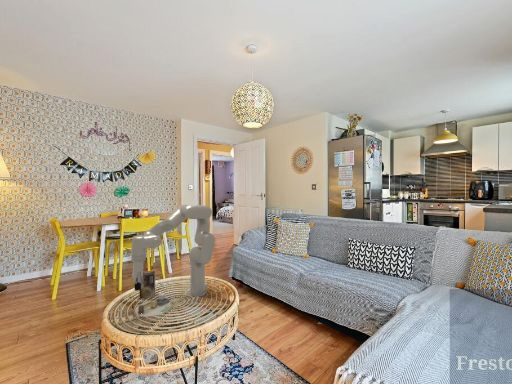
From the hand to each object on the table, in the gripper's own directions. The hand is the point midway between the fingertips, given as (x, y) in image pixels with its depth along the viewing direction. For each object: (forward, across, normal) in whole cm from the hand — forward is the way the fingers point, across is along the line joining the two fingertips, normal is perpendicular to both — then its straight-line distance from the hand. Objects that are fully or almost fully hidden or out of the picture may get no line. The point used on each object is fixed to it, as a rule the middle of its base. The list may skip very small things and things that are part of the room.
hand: (137, 289), depth 140 cm
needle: (+12, +2, +5) cm, 13 cm away
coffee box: (+13, -19, +7) cm, 24 cm away
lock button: (+10, -4, +14) cm, 18 cm away
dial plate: (+13, 0, +9) cm, 16 cm away
